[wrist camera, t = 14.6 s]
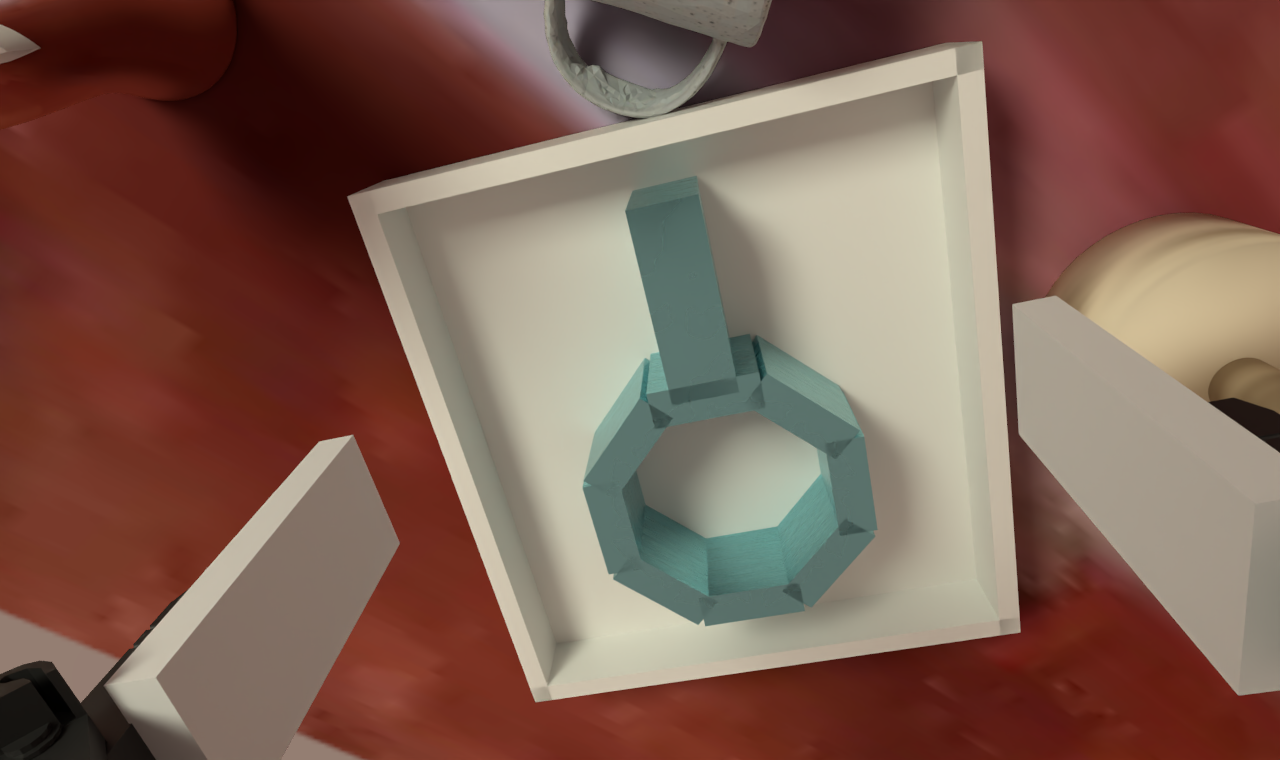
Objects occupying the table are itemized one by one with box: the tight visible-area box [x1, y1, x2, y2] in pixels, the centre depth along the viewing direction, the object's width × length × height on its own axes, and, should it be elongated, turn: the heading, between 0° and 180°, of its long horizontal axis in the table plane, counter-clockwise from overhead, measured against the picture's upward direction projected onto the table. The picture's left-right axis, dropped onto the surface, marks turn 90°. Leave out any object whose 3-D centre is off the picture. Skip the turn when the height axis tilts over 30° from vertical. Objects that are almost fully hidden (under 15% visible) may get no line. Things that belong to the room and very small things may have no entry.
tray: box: [347, 41, 1021, 702], centre depth 31 cm, size 23×21×4 cm
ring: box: [582, 176, 878, 626], centre depth 30 cm, size 17×10×4 cm, turn 13°
